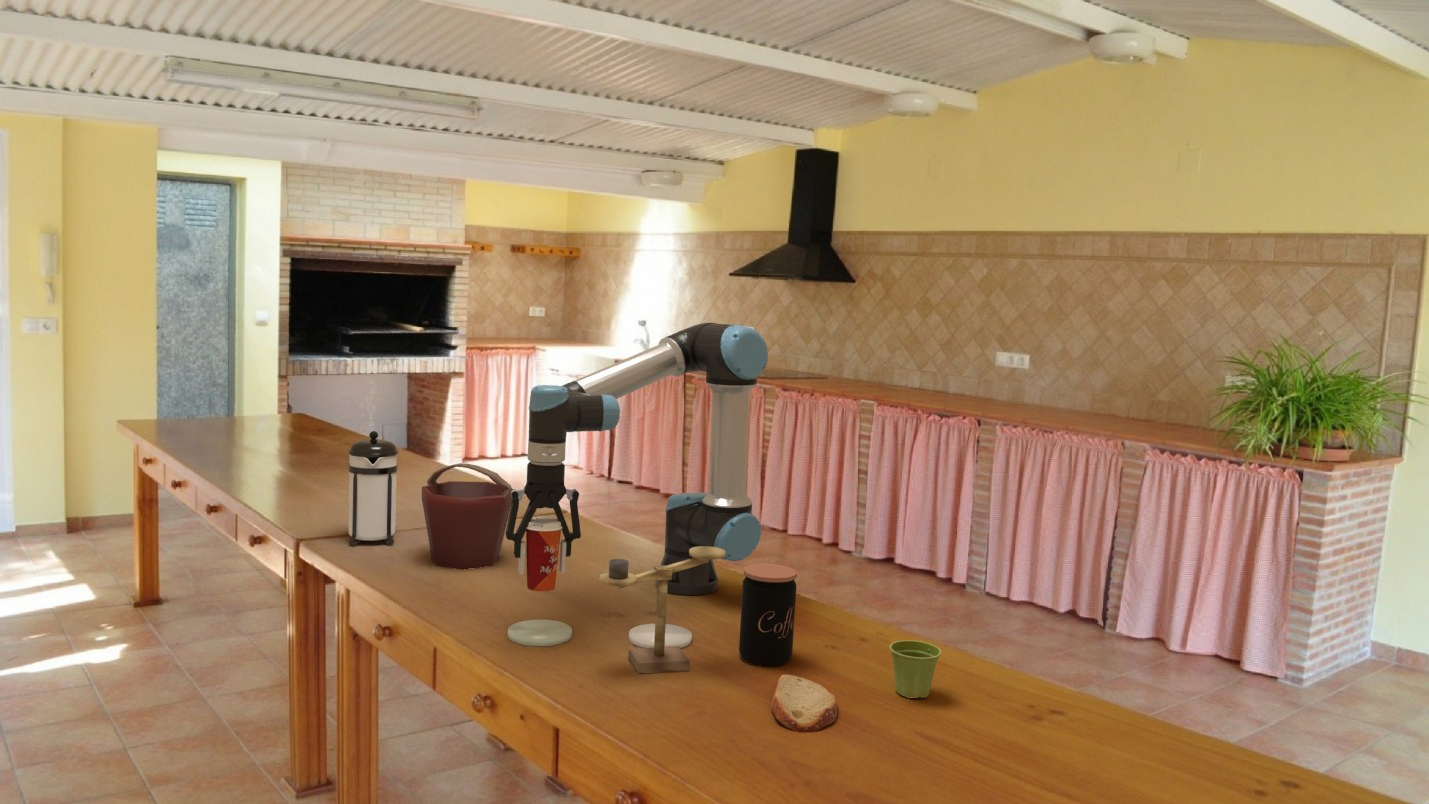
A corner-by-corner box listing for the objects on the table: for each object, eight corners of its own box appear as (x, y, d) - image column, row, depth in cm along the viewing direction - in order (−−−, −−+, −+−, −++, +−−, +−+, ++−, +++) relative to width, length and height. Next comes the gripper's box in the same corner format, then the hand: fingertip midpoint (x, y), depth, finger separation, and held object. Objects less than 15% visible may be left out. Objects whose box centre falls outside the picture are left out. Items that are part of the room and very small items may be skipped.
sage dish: (566, 623, 223) (566, 618, 222) (576, 644, 210) (577, 638, 210) (504, 626, 219) (504, 621, 219) (511, 648, 206) (511, 642, 206)
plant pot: (927, 708, 188) (930, 661, 187) (878, 694, 192) (881, 649, 192) (945, 692, 195) (948, 647, 195) (897, 680, 200) (901, 636, 199)
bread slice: (791, 681, 198) (792, 662, 197) (869, 711, 185) (870, 691, 185) (726, 705, 185) (727, 684, 185) (804, 739, 173) (805, 717, 172)
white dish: (681, 627, 224) (682, 622, 224) (699, 648, 212) (699, 642, 212) (622, 630, 220) (622, 625, 220) (636, 651, 208) (637, 646, 208)
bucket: (528, 564, 268) (532, 467, 265) (456, 579, 251) (459, 476, 248) (470, 545, 283) (472, 454, 280) (398, 558, 266) (400, 461, 264)
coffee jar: (755, 670, 201) (760, 580, 199) (728, 652, 211) (733, 565, 209) (802, 664, 206) (807, 575, 204) (774, 646, 216) (779, 561, 214)
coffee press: (415, 540, 285) (417, 431, 282) (367, 551, 271) (369, 437, 268) (372, 529, 294) (374, 424, 291) (324, 539, 281) (326, 429, 277)
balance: (712, 653, 209) (718, 545, 207) (724, 668, 202) (731, 555, 199) (592, 660, 202) (596, 548, 199) (600, 676, 194) (605, 559, 192)
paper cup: (552, 594, 209) (555, 526, 207) (516, 590, 210) (518, 522, 209) (565, 584, 216) (568, 518, 215) (530, 580, 218) (533, 514, 216)
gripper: (496, 465, 204) (492, 579, 206) (600, 465, 210) (594, 576, 213) (492, 458, 211) (488, 568, 213) (592, 459, 217) (588, 566, 220)
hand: (541, 572), depth 213 cm, fingers closed on paper cup, 8 cm apart
